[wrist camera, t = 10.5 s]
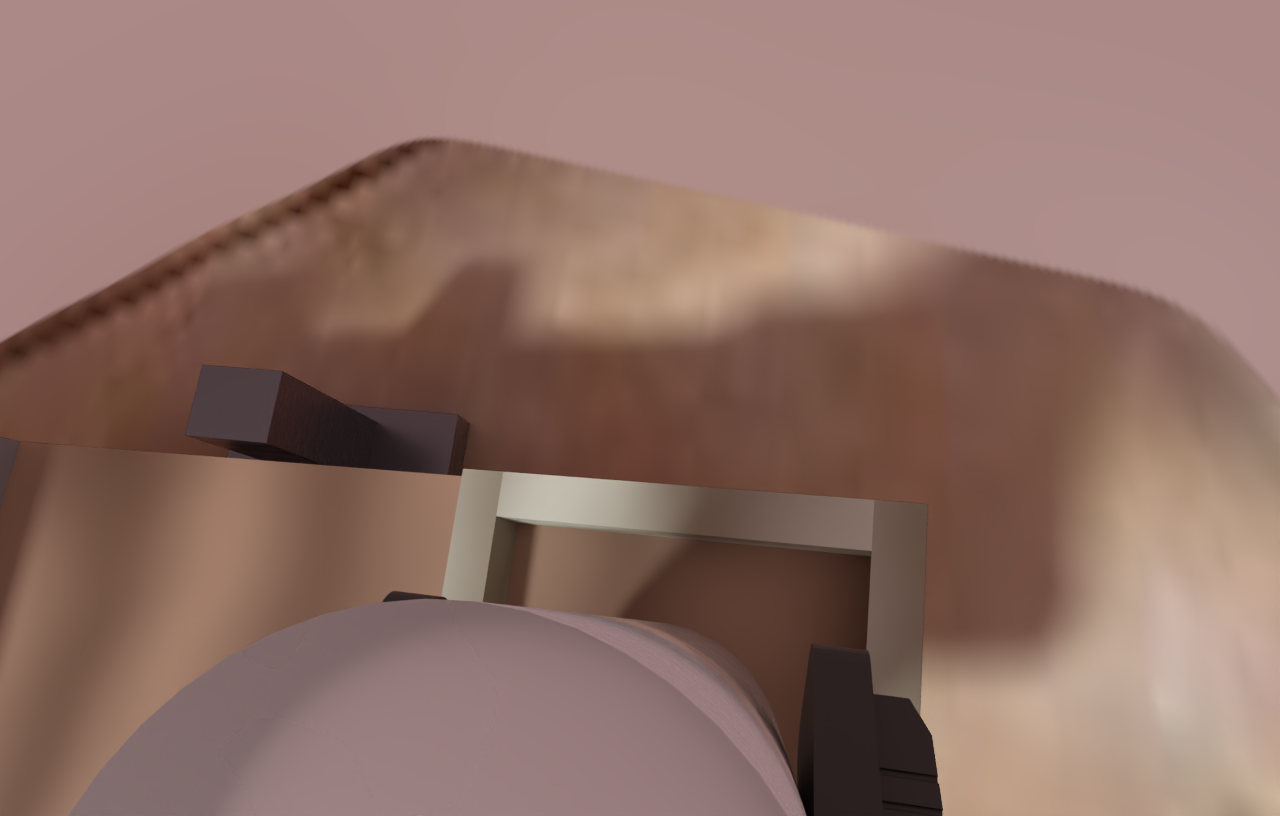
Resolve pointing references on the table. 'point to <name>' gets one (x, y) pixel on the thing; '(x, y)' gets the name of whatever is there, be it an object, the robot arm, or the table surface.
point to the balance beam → (399, 578)
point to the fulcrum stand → (318, 425)
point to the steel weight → (459, 723)
